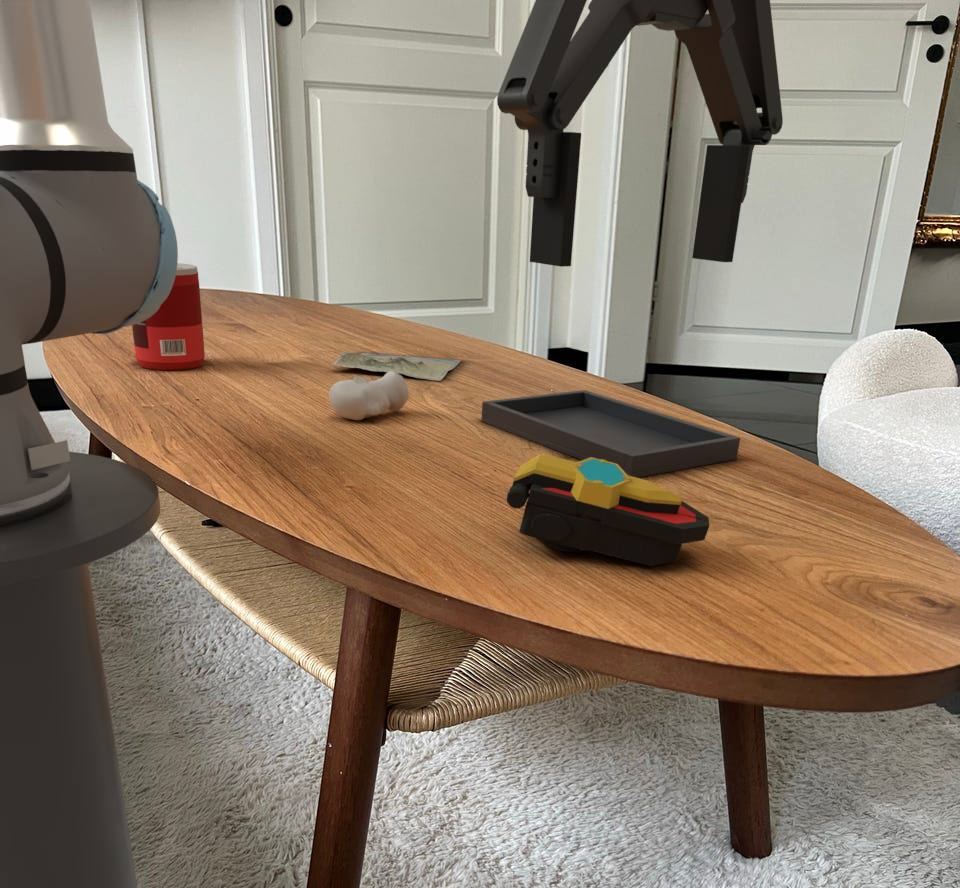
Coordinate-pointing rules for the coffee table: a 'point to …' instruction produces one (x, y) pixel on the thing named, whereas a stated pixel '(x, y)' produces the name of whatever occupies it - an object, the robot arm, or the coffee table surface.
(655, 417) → the dark gray tray
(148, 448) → the coffee table surface
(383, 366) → the topographic map
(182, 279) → the canned food
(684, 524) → the gadget
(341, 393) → the smooth white sculpture
